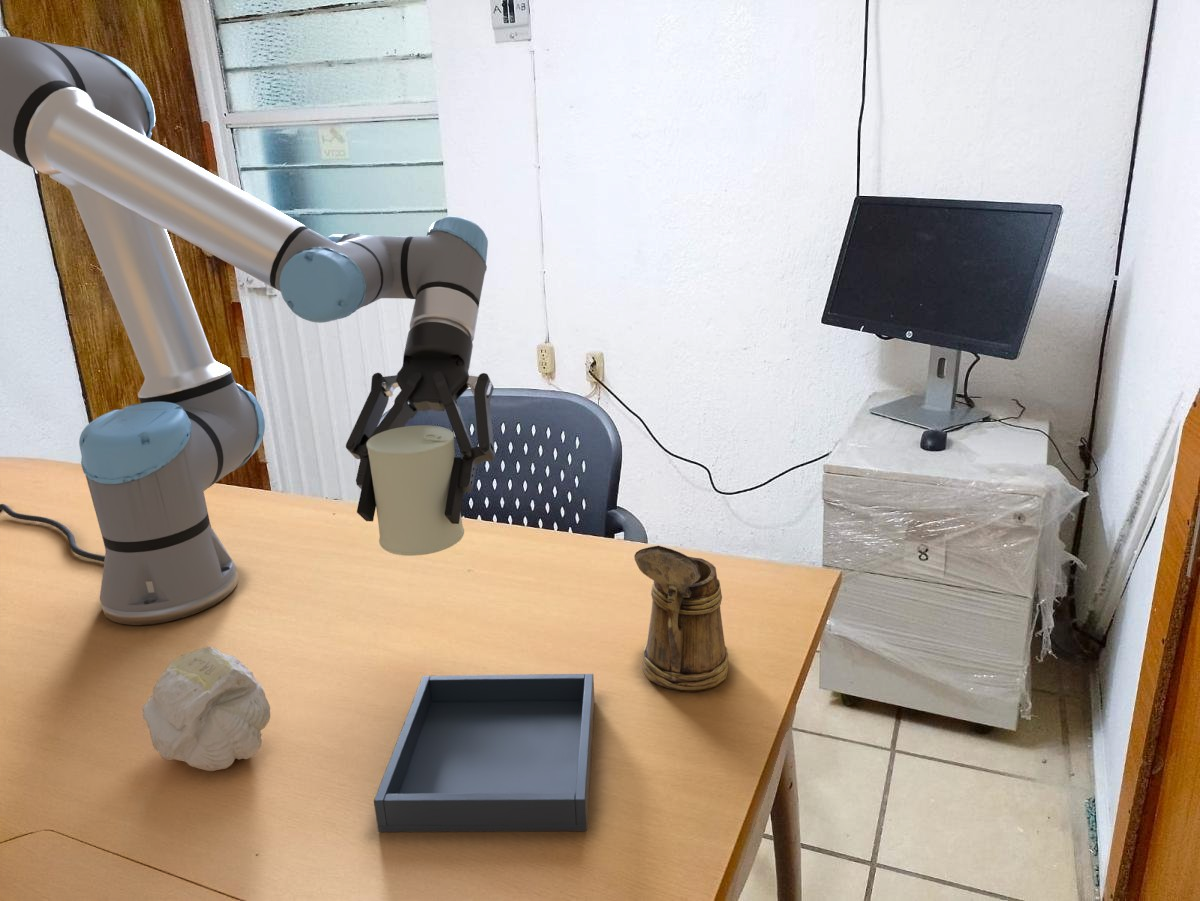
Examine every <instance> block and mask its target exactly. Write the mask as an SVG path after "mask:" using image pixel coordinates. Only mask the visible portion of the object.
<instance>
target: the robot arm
mask: <svg viewBox="0 0 1200 901" xmlns="http://www.w3.org/2000/svg"><path fill="white" fill-rule="evenodd" d="M155 123H156V113H155V107H154V103H153V100H152V97H151V95H150V93H149V91H148V89H147V87H146V86H145V84H144V83H143V81H142V80H141V78H139V76H138V75H137V73H135V72H134V71H133V70H132V69H131V68H130V67H129V66H127V65H126V64H124V62H122V61H120V60H119V59H116V58H115V57H112V56H110V55H107V54H104V53H101V52H99V51H97V50H94V49H90V48H87V47H83V46H76V45H75V46H69V45H68V46H67V45H62V44H56V43H51V42H44V41H39V40H33V39H29V38H25V37H18V36H12V35H11V36H9V35H8V36H0V151H2V152H3V153H5V154H7V156H10V157H11V158H13V159H15V160H17V161H18V162H20V163H22V164H24V165H26V166H29V167H30V168H32V169H34V170H36V171H37V172H39V173H42V174H44V175H48V176H49V178H50V179H52V180H54V181H56V182H57V183H58V184H61V185H63V186H64V187H65V188H67V189H68V190H69V191H70V193H71V196H72V199H73V201H74V204H75V206H76V208H77V211H78V214H79V216H80V218H81V221H82V223H83V226H84V229H85V232H86V234H87V236H88V239H89V241H90V244H91V246H92V249H93V251H94V254H95V256H96V259H97V261H98V265H99V266H100V270H101V271H102V273H103V276H104V279H105V281H106V284H107V287H108V289H109V291H110V294H111V296H112V299H113V302H114V304H115V308H116V309H117V311H118V314H119V316H120V319H121V322H122V324H123V326H124V330H125V333H126V335H127V336H128V339H129V342H130V344H131V347H132V350H133V352H134V354H135V357H136V360H137V363H138V365H139V367H140V369H141V372H142V374H143V378H144V379H143V380H144V381H143V383H142V385H141V387H140V389H139V391H138V393H137V397H138V399H139V402H140V403H135V404H130V405H126V406H125V407H124V408H122V409H112V410H110V411H108V412H106V413H104V414H102V415H100V416H98V417H96V418H95V419H93V420H92V421H90V422H89V423H88V424H87V425H86V426H85V427H84V429H83V430H82V432H81V433H80V435H79V441H78V444H79V451H80V456H81V459H80V464H81V468H82V469H81V470H82V472H83V474H84V475H85V479H86V482H87V486H88V489H89V493H90V497H91V502H92V504H93V507H94V512H95V515H96V519H97V522H98V526H99V530H100V534H101V537H102V542H103V546H104V549H105V552H104V554H105V555H101V554H97V553H92V552H90V551H86V550H83V549H82V548H80V547H78V546H77V543H76V538H75V535H74V534H73V533H72V531H71V530H70V529H69V528H68V527H67V526H66V525H64V524H62V523H61V522H59V521H57V520H54V519H51V518H48V517H45V516H39V515H31V514H23V513H19V512H15V511H14V510H13V509H12V508H10V507H9V506H8V505H6V503H0V512H2V511H4V512H5V513H6V514H7V515H8V516H10V517H11V518H14V519H18V520H22V521H31V522H37V523H43V524H47V525H50V526H52V527H55V528H56V529H58V530H59V531H60V532H62V533H63V534H64V535H65V536H66V537H67V541H68V547H69V548H70V549H71V551H72V552H73V553H75V554H76V555H78V556H80V557H82V558H86V559H90V560H94V561H98V562H102V563H103V568H102V578H101V585H100V592H99V600H100V605H101V609H102V611H103V614H104V616H105V617H106V619H109V620H110V621H112V622H114V623H118V624H122V625H130V626H141V625H142V626H145V625H154V624H155V625H156V624H162V623H168V622H172V621H177V620H180V619H183V618H187V617H189V616H192V615H195V614H198V613H200V612H203V611H205V610H207V609H209V608H211V607H213V606H214V605H216V604H218V603H220V602H221V601H223V600H224V599H226V598H227V597H228V596H229V595H230V594H231V593H232V592H233V591H234V590H235V588H236V587H237V584H238V582H239V577H238V572H237V568H236V563H235V562H234V560H233V559H232V557H231V555H230V554H229V552H228V551H227V550H226V547H225V546H224V544H223V543H222V542H221V540H220V539H219V537H218V535H217V534H216V532H215V531H214V528H213V527H212V525H211V521H210V516H209V511H208V506H207V501H206V496H205V491H206V490H208V489H209V488H211V487H212V486H213V485H215V484H216V483H217V482H219V481H220V480H222V479H223V478H225V477H226V476H227V475H229V474H230V473H232V472H234V471H236V470H237V469H240V468H241V467H243V466H244V465H246V463H247V462H248V461H249V460H250V458H251V457H252V456H253V455H254V454H255V453H256V452H257V451H258V449H259V448H260V445H261V444H262V441H263V439H264V436H265V429H266V427H265V426H266V421H265V414H264V411H263V409H262V406H261V405H260V402H259V401H258V399H257V397H255V396H254V394H253V393H252V392H251V391H249V390H246V389H245V388H244V386H243V385H241V384H239V383H236V380H235V377H234V375H233V372H232V370H231V367H228V366H227V365H225V364H222V363H220V362H218V361H216V359H215V358H214V356H213V353H212V350H211V347H210V344H209V342H208V340H207V337H206V334H205V332H204V328H203V326H202V323H201V321H200V317H199V314H198V311H197V310H196V307H195V304H194V302H193V298H192V295H191V294H190V290H189V288H188V285H187V282H186V280H185V277H184V274H183V271H182V268H181V266H180V262H179V261H178V257H177V255H176V253H175V249H174V248H173V244H172V241H171V239H170V235H169V234H168V232H169V233H172V234H173V235H176V236H177V237H178V238H179V237H180V238H182V239H183V240H185V241H187V242H188V243H191V244H192V245H193V246H196V247H198V248H199V249H201V250H203V251H205V252H207V253H208V254H210V255H213V256H214V257H216V258H218V259H220V260H222V261H223V262H225V263H227V264H229V265H231V266H233V267H234V268H236V269H238V270H240V271H242V272H244V273H246V274H247V275H249V276H251V277H253V278H254V279H256V280H258V281H260V282H262V283H264V284H266V285H268V286H269V287H271V288H273V289H275V290H277V291H279V292H280V294H281V297H282V300H283V301H284V302H285V303H286V305H287V306H288V308H289V309H290V310H291V312H292V313H294V314H295V316H297V317H299V318H301V319H303V320H305V321H307V322H312V323H316V324H317V323H318V324H323V323H329V322H332V321H337V320H341V319H342V320H343V319H344V318H347V317H350V316H351V315H352V314H354V313H355V312H357V310H359V309H361V308H363V307H366V306H368V305H370V304H372V303H374V302H376V301H378V300H380V299H410V300H414V304H413V308H412V313H411V318H410V321H409V331H408V333H407V338H406V342H405V347H404V351H403V356H402V366H401V368H400V370H398V372H397V373H396V374H395V375H385V376H384V375H383V374H382V373H380V372H375V373H373V375H372V376H371V386H370V392H369V393H368V395H367V398H366V401H365V402H364V405H363V407H362V409H361V411H360V413H359V415H358V417H357V420H356V422H355V424H354V426H353V428H352V431H351V433H350V434H349V437H348V439H347V441H346V443H345V448H346V450H347V451H348V452H349V453H350V454H351V455H352V456H353V457H354V459H356V460H359V464H358V469H357V474H356V477H355V484H356V486H357V487H358V488H359V489H360V494H359V499H358V503H357V508H356V514H358V515H359V516H360V517H361V518H362V519H363V520H364V521H365V522H374V519H375V518H374V517H375V514H376V510H377V509H376V501H375V494H374V487H373V480H372V474H371V467H370V460H369V454H368V449H367V445H366V444H367V441H368V440H369V439H370V438H371V437H373V436H374V435H376V434H378V433H381V432H384V431H387V430H390V429H395V428H400V427H406V424H408V422H409V421H410V419H413V418H414V417H415V416H416V415H417V414H418V412H426V411H430V410H432V411H436V412H446V415H447V419H448V420H449V423H450V426H451V429H452V432H453V434H454V438H455V439H456V442H457V443H456V444H457V445H458V448H459V453H460V454H461V456H462V457H456V456H455V457H454V462H453V467H452V472H451V478H450V484H449V490H448V496H447V503H446V509H445V516H446V517H447V518H448V519H449V521H450V522H451V523H452V524H459V520H460V513H461V514H462V507H463V500H464V494H465V493H471V492H472V490H473V489H474V484H475V479H476V478H475V477H476V471H477V466H478V465H479V464H480V463H483V462H492V461H494V460H495V458H496V452H495V440H494V430H493V420H492V410H491V399H492V396H493V393H494V385H493V382H492V381H491V378H490V376H489V374H488V373H486V372H482V373H480V374H478V376H477V375H470V374H469V371H470V365H471V359H472V355H473V354H472V353H473V346H474V344H473V341H474V340H475V334H476V327H477V322H478V318H479V317H478V316H479V307H480V301H481V296H482V291H483V285H484V281H485V274H486V272H487V268H488V266H487V258H488V257H487V256H488V247H489V240H488V237H487V235H486V233H485V231H484V230H483V229H482V228H481V227H480V226H479V225H478V224H477V223H475V221H472V220H470V219H468V218H465V217H461V216H456V215H447V216H443V218H439V219H438V218H437V219H436V220H435V221H433V222H432V223H431V225H430V226H429V229H428V231H427V233H426V235H414V236H397V235H380V234H379V235H378V234H376V235H375V234H360V233H359V232H355V233H354V232H352V233H344V234H330V235H329V236H327V237H326V236H324V235H322V234H320V233H318V232H317V231H314V230H313V229H311V228H309V227H307V226H306V225H305V224H303V223H301V222H300V221H297V220H296V219H294V218H292V217H290V216H288V214H284V213H283V212H281V211H280V210H278V209H276V208H275V207H273V206H271V205H269V204H267V203H266V202H263V201H261V200H260V199H258V198H256V197H254V196H252V195H251V194H250V193H248V192H245V191H243V190H242V189H240V188H238V187H236V186H235V185H233V184H231V183H229V182H227V181H226V180H224V179H222V178H220V177H219V176H217V175H215V174H214V173H211V172H210V171H208V170H206V169H205V168H203V167H200V166H199V165H197V164H195V163H194V162H192V161H190V160H188V159H187V158H184V157H182V156H180V154H177V153H175V152H173V151H172V150H170V149H168V148H166V147H165V146H163V145H161V144H159V143H158V142H156V141H154V140H152V139H151V137H152V135H153V132H152V130H153V128H154V127H155V125H156V124H155ZM396 388H399V389H400V391H399V392H398V394H397V395H396V397H395V398H394V400H393V405H392V406H391V408H390V409H389V410H388V412H387V413H386V414H385V415H384V413H385V410H386V409H387V406H388V403H389V398H390V397H393V396H394V391H395V389H396ZM469 388H470V392H471V393H472V395H473V399H474V409H475V411H474V412H475V419H476V420H475V421H476V422H475V423H476V433H477V443H478V444H477V445H478V446H475V447H474V445H473V442H472V440H471V437H470V435H469V432H468V429H467V427H466V423H465V420H464V418H463V415H462V411H461V409H460V406H459V404H458V401H457V400H459V398H460V397H461V396H462V395H463V394H464V393H465V392H466V391H467V390H468V389H469ZM383 415H384V417H383ZM382 417H383V419H382Z"/></svg>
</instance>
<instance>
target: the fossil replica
mask: <svg viewBox="0 0 1200 901" xmlns="http://www.w3.org/2000/svg"><path fill="white" fill-rule="evenodd" d="M141 710H142V717H143V720H144V721H145V723H146V725H147V728H148V731H149V735H150V740H151V744H152V747H153V749H154V750H155V751H156V752H157V753H159V755H160V756H161V757H162V759H164V760H165V761H168V760H169V761H171V760H176V761H180V762H181V761H182V762H184V763H186V764H187V765H188V766H190V767H192V768H196V769H197V770H203V771H207V772H209V771H210V772H215V771H220V770H225V769H228V768H229V767H230V766H232V765H233V763H234V762H235V760H236V759H237V760H241V759H243V760H248V759H250V758H252V757H253V756H255V755H256V754H257V753H258V752H259V751H260V749H261V746H262V735H263V734H262V733H261V731H262V730H263V729H265V728H266V727H267V725H268V724H269V722H270V720H271V706H270V704H269V701H268V699H267V696H266V692H265V690H264V688H263V685H262V684H260V683H259V681H258V680H257V678H255V677H254V673H253V672H252V671H251V670H250V669H249V668H248V667H247V666H246V665H245V664H244V663H243V662H242V661H241V660H239V658H237V657H235V656H234V655H230V654H226V653H223V652H221V651H220V650H219V649H218V648H216V647H213V646H205V647H203V648H198V649H194V651H191V652H187V653H184V654H182V655H180V656H178V657H177V658H175V659H174V660H172V661H171V662H170V663H169V664H168V666H167V668H166V669H165V670H164V671H163V673H162V674H161V676H160V677H159V678H158V680H157V681H156V684H155V686H154V687H153V689H152V695H151V696H150V697H149V699H148V700H147V702H146V703H145V704H144V705H142V708H141Z"/></svg>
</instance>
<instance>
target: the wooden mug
mask: <svg viewBox="0 0 1200 901" xmlns="http://www.w3.org/2000/svg"><path fill="white" fill-rule="evenodd" d="M633 557H634V561H635V564H636V566H637V567H638V569H639V572H641V573H642V574H643V575H645V576H646V577H648V578H649V579H650V580H652V587H651V594H650V595H651V599H652V602H651V610H650V611H651V613H650V618H649V626H648V634H647V642H646V644H645V646H644V647H643V656H642V670H643V673H644V675H645V677H647V679H648V680H649V681H651V682H653V683H655V684H656V685H658V686H661V687H663V688H665V689H668V690H672V691H673V690H674V691H678V692H682V693H683V692H685V693H686V692H687V693H688V692H689V693H691V692H692V693H693V692H694V693H695V692H701V691H702V692H703V691H706V690H710V689H713V688H716V687H717V686H718V685H720V684H721V683H722V682H723V681H725V680H726V679H727V676H728V672H729V653H728V647H727V646H726V642H725V635H724V628H723V619H722V613H721V605H722V601H723V594H722V589H721V582H720V579H719V578H718V575H717V567H716V566H715V565H714V564H713V563H711V562H709V561H708V560H705V559H704V558H701V557H693V556H688V555H686V554H684V553H683V552H680V551H677V550H674V549H672V548H668V547H666V546H661V545H655V546H654V545H653V546H650V547H644V548H640V549H639V550H637V551H636V552H635V553H634V556H633Z"/></svg>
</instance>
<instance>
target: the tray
mask: <svg viewBox="0 0 1200 901" xmlns="http://www.w3.org/2000/svg"><path fill="white" fill-rule="evenodd" d="M594 680H595V678H594V673H541V674H537V673H536V674H535V673H534V674H533V673H532V674H531V673H530V674H461V675H460V674H459V675H458V674H455V675H453V674H451V675H422V677H421V679H420V682H419V685H418V687H417V689H416V692H415V694H414V697H413V700H412V702H411V705H410V707H409V710H408V712H407V715H406V718H405V720H404V722H403V725H402V727H401V730H400V733H399V735H398V738H397V740H396V743H395V745H394V748H393V751H392V754H391V756H390V759H389V761H388V763H387V766H386V769H385V771H384V774H383V775H382V778H381V781H380V784H379V786H378V789H377V792H376V794H375V797H374V799H373V805H374V812H375V818H376V824H377V832H378V833H411V832H412V833H417V832H418V833H435V832H437V833H439V832H440V833H443V832H444V833H445V832H446V833H447V832H453V833H454V832H458V833H459V832H461V833H462V832H463V833H464V832H465V833H466V832H468V833H469V832H476V833H477V832H587V831H588V818H589V817H588V816H589V801H590V800H589V799H590V785H591V784H590V782H591V769H592V768H591V766H592V750H593V749H592V748H593V735H594V734H593V732H594V715H595V702H596V701H595V700H596V699H595V681H594Z"/></svg>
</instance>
